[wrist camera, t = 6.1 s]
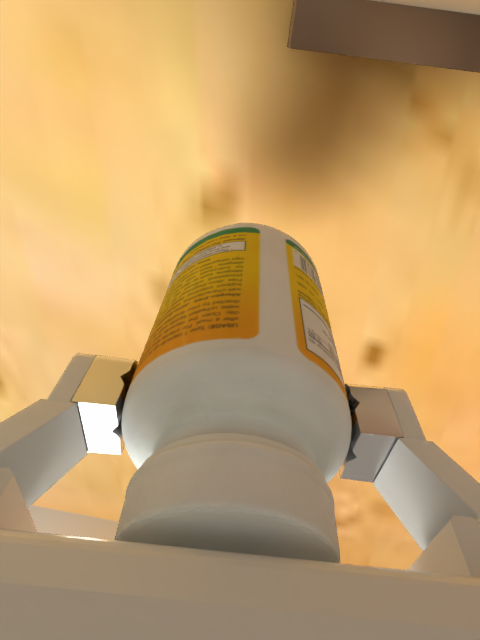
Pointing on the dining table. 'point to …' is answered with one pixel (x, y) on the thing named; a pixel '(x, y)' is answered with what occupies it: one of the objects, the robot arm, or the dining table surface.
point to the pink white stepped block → (442, 4)
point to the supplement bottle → (238, 405)
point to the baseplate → (387, 32)
